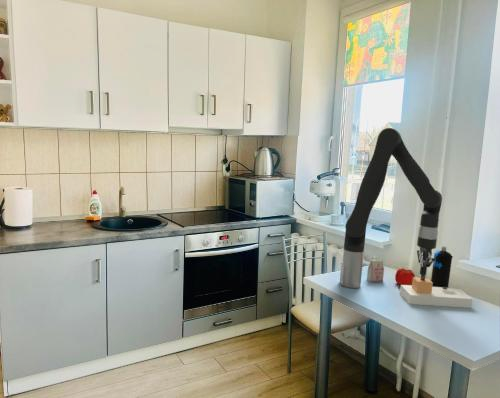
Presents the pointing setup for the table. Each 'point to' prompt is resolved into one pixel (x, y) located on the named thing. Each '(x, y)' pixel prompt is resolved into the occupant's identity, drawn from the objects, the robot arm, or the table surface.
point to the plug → (422, 285)
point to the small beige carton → (375, 271)
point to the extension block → (437, 297)
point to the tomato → (404, 276)
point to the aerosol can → (441, 268)
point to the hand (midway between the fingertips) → (422, 274)
